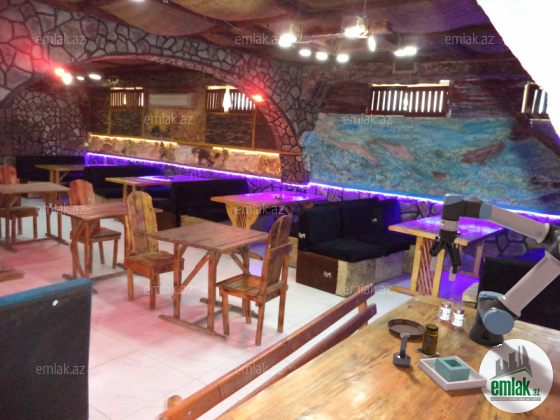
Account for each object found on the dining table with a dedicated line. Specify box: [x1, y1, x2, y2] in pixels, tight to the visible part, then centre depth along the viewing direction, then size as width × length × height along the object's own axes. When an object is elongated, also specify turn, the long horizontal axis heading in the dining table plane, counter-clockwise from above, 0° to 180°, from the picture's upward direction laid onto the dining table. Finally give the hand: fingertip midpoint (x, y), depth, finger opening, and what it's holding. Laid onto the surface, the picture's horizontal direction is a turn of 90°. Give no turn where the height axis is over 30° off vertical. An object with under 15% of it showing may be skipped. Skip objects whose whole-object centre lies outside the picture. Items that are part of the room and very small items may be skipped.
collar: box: [434, 356, 470, 382], centre depth 175 cm, size 9×9×5 cm
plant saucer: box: [386, 318, 426, 339], centre depth 212 cm, size 18×18×3 cm
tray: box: [417, 355, 488, 392], centre depth 175 cm, size 18×18×3 cm
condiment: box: [414, 323, 441, 359], centre depth 192 cm, size 7×8×12 cm
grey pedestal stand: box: [392, 333, 412, 369], centre depth 181 cm, size 7×7×13 cm
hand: (441, 275), depth 199 cm, fingers open, 13 cm apart
